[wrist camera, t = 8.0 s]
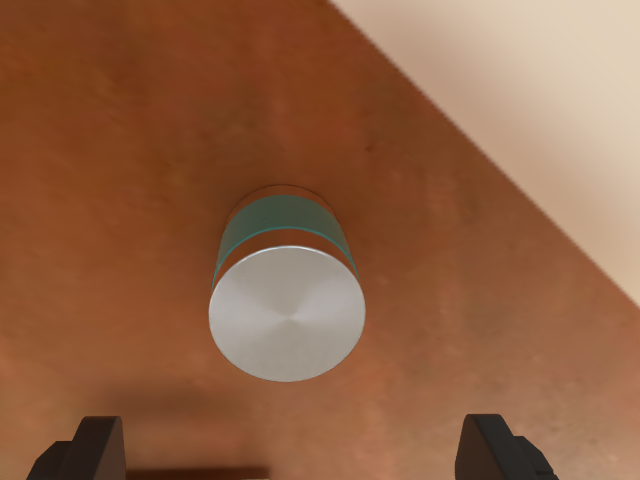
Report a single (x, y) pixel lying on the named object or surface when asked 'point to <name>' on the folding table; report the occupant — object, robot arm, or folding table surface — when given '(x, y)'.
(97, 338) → the folding table surface
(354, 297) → the tin can
